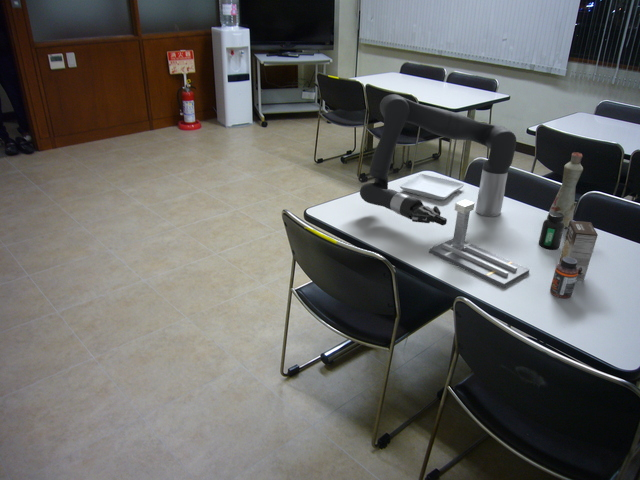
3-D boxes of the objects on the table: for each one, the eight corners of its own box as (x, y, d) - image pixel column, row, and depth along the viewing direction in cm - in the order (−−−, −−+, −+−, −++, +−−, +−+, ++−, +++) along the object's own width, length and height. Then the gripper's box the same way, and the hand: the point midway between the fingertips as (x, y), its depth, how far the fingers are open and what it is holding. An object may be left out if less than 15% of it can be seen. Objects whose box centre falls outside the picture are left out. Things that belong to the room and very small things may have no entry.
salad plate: (419, 179, 238) (420, 172, 236) (464, 190, 227) (465, 183, 226) (397, 193, 223) (398, 185, 221) (444, 205, 212) (445, 197, 210)
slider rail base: (455, 241, 182) (456, 234, 181) (528, 273, 163) (530, 266, 162) (429, 252, 174) (430, 245, 173) (503, 288, 155) (504, 280, 154)
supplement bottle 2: (545, 288, 156) (554, 254, 151) (565, 287, 156) (574, 254, 151) (555, 299, 150) (564, 265, 145) (575, 298, 151) (585, 264, 146)
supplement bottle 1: (548, 252, 177) (556, 219, 171) (533, 243, 182) (541, 211, 177) (563, 248, 179) (572, 216, 174) (548, 240, 185) (556, 208, 179)
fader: (457, 244, 176) (464, 199, 169) (467, 249, 173) (475, 203, 166) (448, 248, 173) (455, 202, 166) (458, 253, 171) (465, 206, 163)
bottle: (564, 231, 191) (584, 157, 179) (541, 223, 197) (558, 151, 185) (575, 225, 197) (595, 153, 184) (552, 217, 203) (570, 147, 190)
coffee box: (557, 264, 169) (568, 219, 162) (578, 267, 168) (591, 221, 160) (562, 279, 161) (575, 232, 153) (585, 281, 160) (599, 234, 152)
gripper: (394, 200, 181) (433, 217, 169) (419, 192, 188) (459, 207, 176) (392, 220, 184) (431, 237, 172) (417, 211, 192) (456, 227, 180)
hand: (445, 222), depth 174 cm, fingers closed
